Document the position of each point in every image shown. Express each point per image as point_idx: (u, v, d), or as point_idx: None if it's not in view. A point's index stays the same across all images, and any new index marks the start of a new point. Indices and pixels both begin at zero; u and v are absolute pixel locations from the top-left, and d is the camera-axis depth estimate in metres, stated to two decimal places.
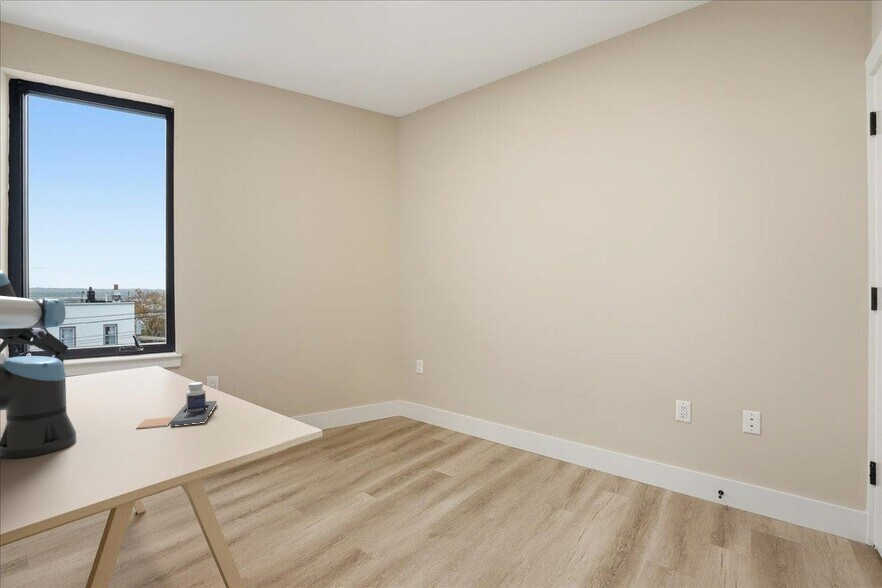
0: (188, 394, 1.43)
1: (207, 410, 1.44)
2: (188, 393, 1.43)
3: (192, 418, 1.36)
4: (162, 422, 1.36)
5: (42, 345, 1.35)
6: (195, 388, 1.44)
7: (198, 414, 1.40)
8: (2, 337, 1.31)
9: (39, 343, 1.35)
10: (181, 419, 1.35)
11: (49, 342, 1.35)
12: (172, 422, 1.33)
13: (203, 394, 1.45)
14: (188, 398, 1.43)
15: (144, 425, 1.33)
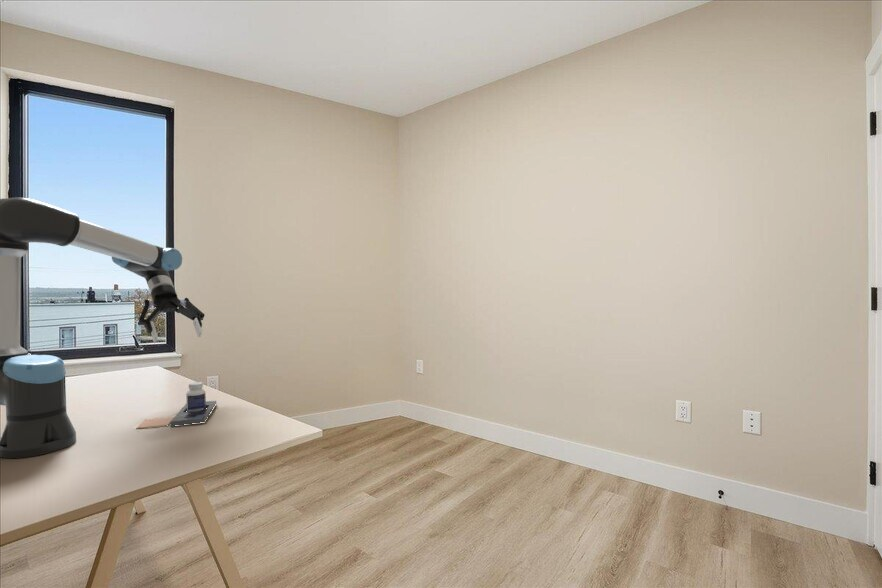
0: (188, 394, 1.43)
1: (207, 410, 1.44)
2: (188, 393, 1.43)
3: (192, 418, 1.36)
4: (162, 422, 1.36)
5: None
6: (195, 388, 1.44)
7: (198, 414, 1.40)
8: (158, 302, 1.57)
9: None
10: (181, 419, 1.35)
11: (193, 305, 1.64)
12: (172, 422, 1.33)
13: (203, 394, 1.45)
14: (188, 398, 1.43)
15: (144, 425, 1.33)
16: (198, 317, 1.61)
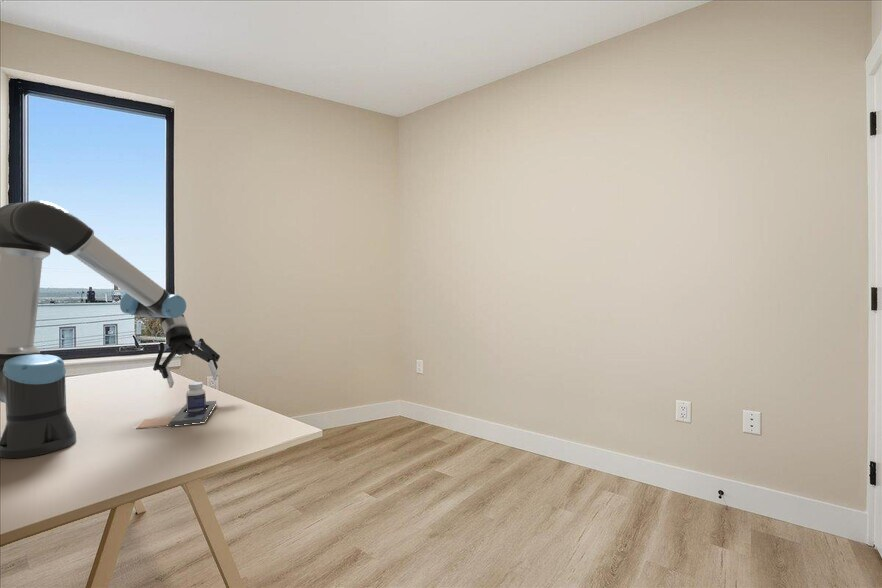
0: (188, 394, 1.43)
1: (207, 410, 1.44)
2: (188, 393, 1.43)
3: (192, 418, 1.36)
4: (162, 422, 1.36)
5: None
6: (195, 388, 1.44)
7: (198, 414, 1.40)
8: (173, 344, 1.54)
9: None
10: (181, 419, 1.35)
11: (208, 346, 1.60)
12: (172, 422, 1.33)
13: (203, 394, 1.45)
14: (188, 398, 1.43)
15: (144, 425, 1.33)
16: (213, 359, 1.58)
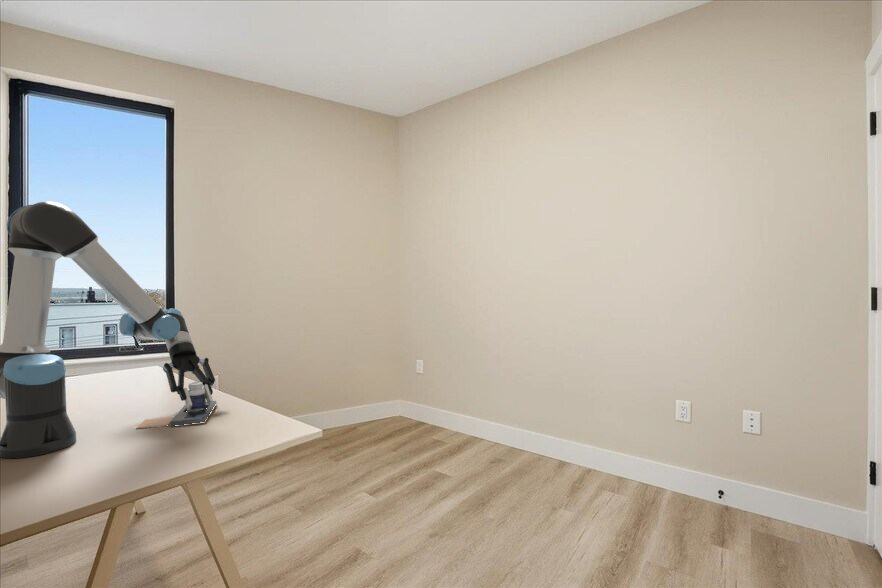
0: None
1: (207, 410, 1.44)
2: None
3: (192, 418, 1.36)
4: (162, 422, 1.36)
5: None
6: (195, 388, 1.44)
7: (198, 414, 1.40)
8: (177, 361, 1.48)
9: None
10: (181, 419, 1.35)
11: (208, 367, 1.53)
12: (172, 422, 1.33)
13: (203, 394, 1.45)
14: None
15: (144, 425, 1.33)
16: (207, 383, 1.48)
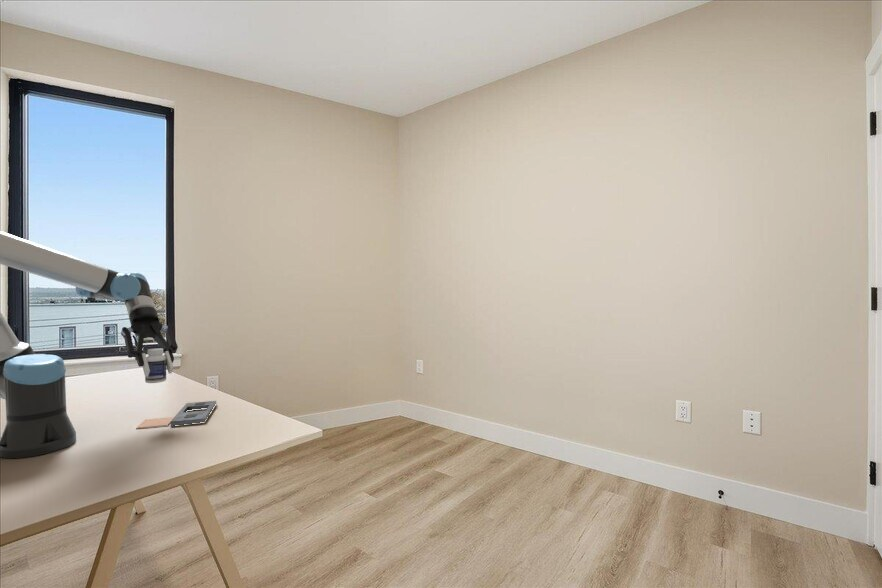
0: None
1: (207, 410, 1.44)
2: None
3: (192, 418, 1.36)
4: (162, 422, 1.36)
5: None
6: (154, 354, 1.34)
7: (198, 414, 1.40)
8: (137, 326, 1.39)
9: None
10: (181, 419, 1.35)
11: (171, 334, 1.43)
12: (172, 422, 1.33)
13: (163, 360, 1.36)
14: None
15: (144, 425, 1.33)
16: (169, 350, 1.39)
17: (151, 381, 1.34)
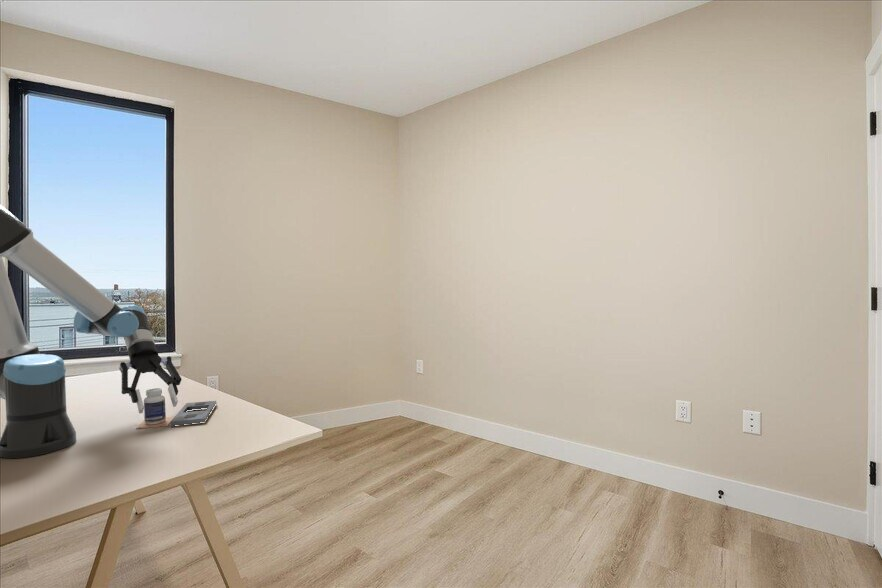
0: (145, 401, 1.34)
1: (207, 410, 1.44)
2: (145, 400, 1.34)
3: (192, 418, 1.36)
4: (162, 422, 1.36)
5: None
6: (152, 395, 1.34)
7: (198, 414, 1.40)
8: (135, 361, 1.39)
9: None
10: (181, 419, 1.35)
11: (172, 367, 1.44)
12: (172, 422, 1.33)
13: (162, 401, 1.36)
14: (145, 406, 1.34)
15: (144, 425, 1.33)
16: (173, 383, 1.40)
17: (150, 422, 1.34)
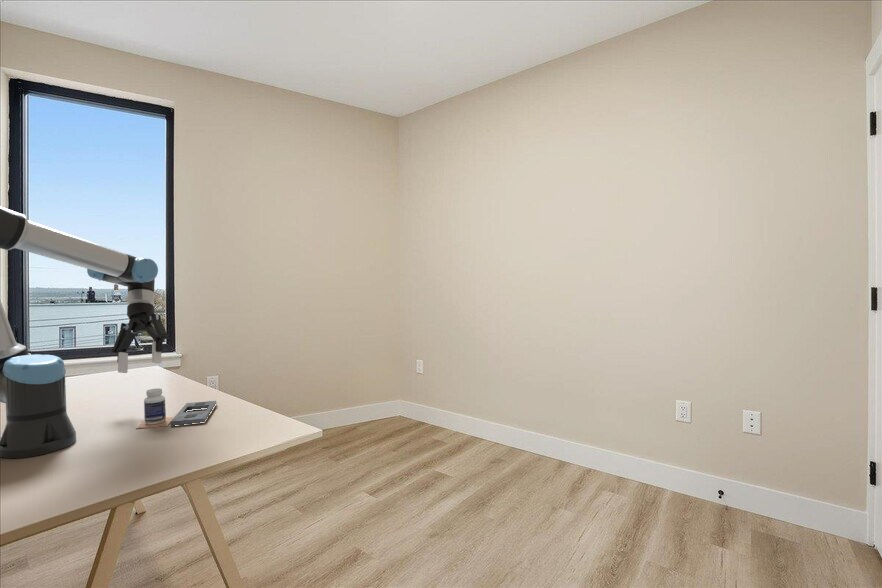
0: (145, 401, 1.34)
1: (207, 410, 1.44)
2: (145, 400, 1.34)
3: (192, 418, 1.36)
4: (162, 422, 1.36)
5: (150, 330, 1.47)
6: (153, 395, 1.34)
7: (198, 414, 1.40)
8: None
9: (149, 328, 1.47)
10: (181, 419, 1.35)
11: (155, 324, 1.47)
12: (172, 422, 1.33)
13: (162, 401, 1.36)
14: (145, 406, 1.34)
15: (144, 425, 1.33)
16: None
17: (150, 422, 1.34)
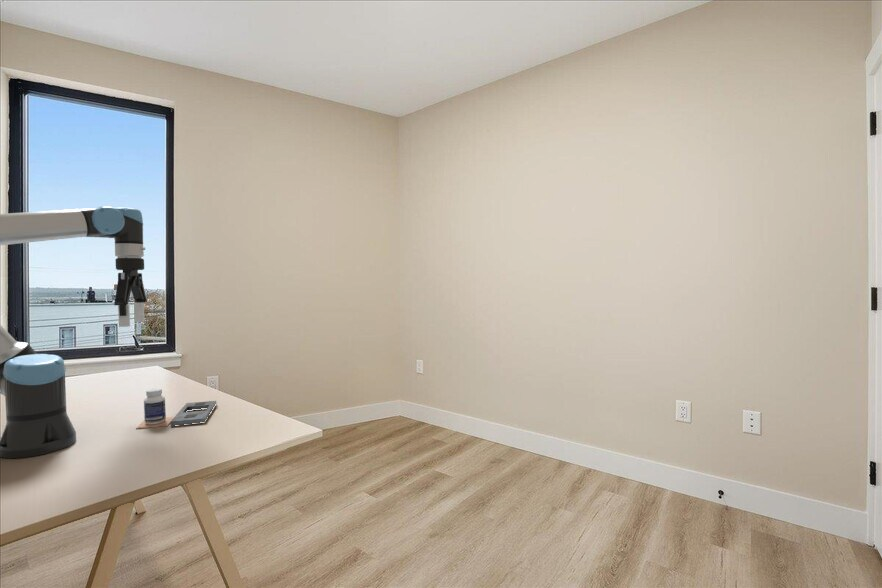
0: (145, 401, 1.34)
1: (207, 410, 1.44)
2: (145, 400, 1.34)
3: (192, 418, 1.36)
4: (162, 422, 1.36)
5: None
6: (153, 395, 1.34)
7: (198, 414, 1.40)
8: None
9: None
10: (181, 419, 1.35)
11: None
12: (172, 422, 1.33)
13: (162, 401, 1.36)
14: (145, 406, 1.34)
15: (144, 425, 1.33)
16: None
17: (150, 423, 1.34)
